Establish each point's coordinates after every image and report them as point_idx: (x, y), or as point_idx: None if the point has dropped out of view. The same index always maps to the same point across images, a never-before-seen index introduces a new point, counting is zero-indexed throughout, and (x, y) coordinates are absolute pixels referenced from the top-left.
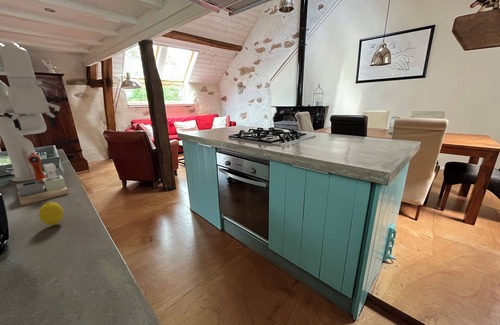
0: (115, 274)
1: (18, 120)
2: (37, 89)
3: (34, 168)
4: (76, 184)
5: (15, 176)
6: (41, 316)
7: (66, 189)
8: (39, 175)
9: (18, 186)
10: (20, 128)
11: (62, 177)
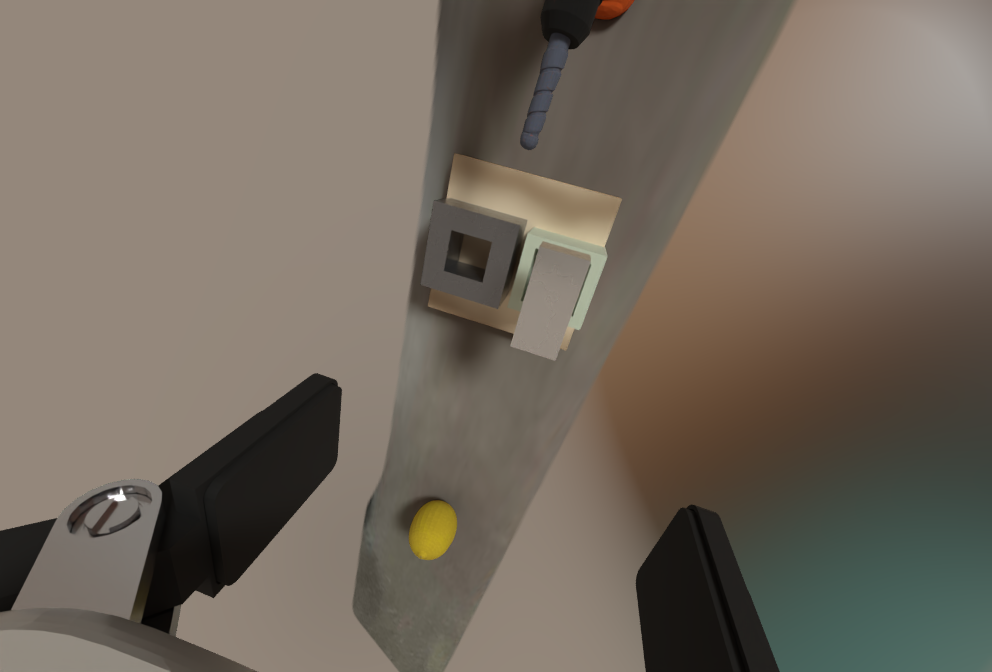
0: (437, 660)
1: (231, 580)
2: None
3: None
4: (654, 255)
5: None
6: (372, 634)
7: (562, 348)
8: None
9: (430, 254)
10: (316, 480)
11: (584, 312)
